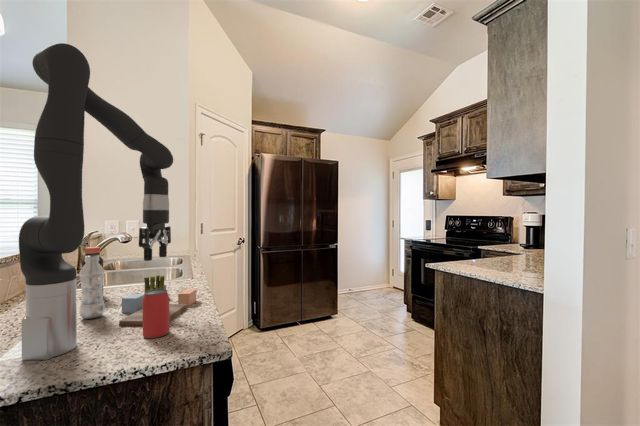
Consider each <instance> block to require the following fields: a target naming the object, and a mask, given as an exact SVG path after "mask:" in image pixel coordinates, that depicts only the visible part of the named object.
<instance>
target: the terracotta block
mask: <svg viewBox="0 0 640 426" xmlns="http://www.w3.org/2000/svg"><path fill="white" fill-rule="evenodd" d="M177 297H178V298H177V302H178V303H177V304H187V307H190V306H191V305H193V304H194V303H195V302H196V301H197V288H195V289H188V288H187V289H184V290H182V291H181V292H179V293H178V294H177Z"/></svg>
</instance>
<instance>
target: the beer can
mask: <svg viewBox="0 0 640 426" xmlns="http://www.w3.org/2000/svg"><path fill="white" fill-rule="evenodd" d="M144 292H145V291H144ZM169 304H170V297H169V293H168V290H167V288H166V289H154V290H149V291H146V292H145V295H144V298H143V326H142V336H143V338H146V339H158V338H160V337H163V336H166V335H167V334H168V333H169V332H170V321H169Z"/></svg>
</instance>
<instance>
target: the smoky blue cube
mask: <svg viewBox="0 0 640 426" xmlns="http://www.w3.org/2000/svg"><path fill="white" fill-rule="evenodd" d="M143 298H144V293H142V294H141V293H138V294H137V293H134V294H133V293H131V294H129V295H127V296H124V297H122V298H121V313H122V314H133V313H135V312H137V311H138V310H140V309H142V308H143Z"/></svg>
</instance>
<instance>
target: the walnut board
mask: <svg viewBox="0 0 640 426" xmlns="http://www.w3.org/2000/svg"><path fill="white" fill-rule="evenodd" d="M187 309H188V306H187V304H178V303H169V322H170V321H172V319H174V318H176V317H178V316H179V315H180V314H181V313H183V312H184V311H185V310H187ZM118 326H120V327H139V326H140V327H143V308H142V309H140V310H138V311H137V312H135V313H130V314H129V315H127V316H126V317H124V318H122V319H120V320H119V321H118Z"/></svg>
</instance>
